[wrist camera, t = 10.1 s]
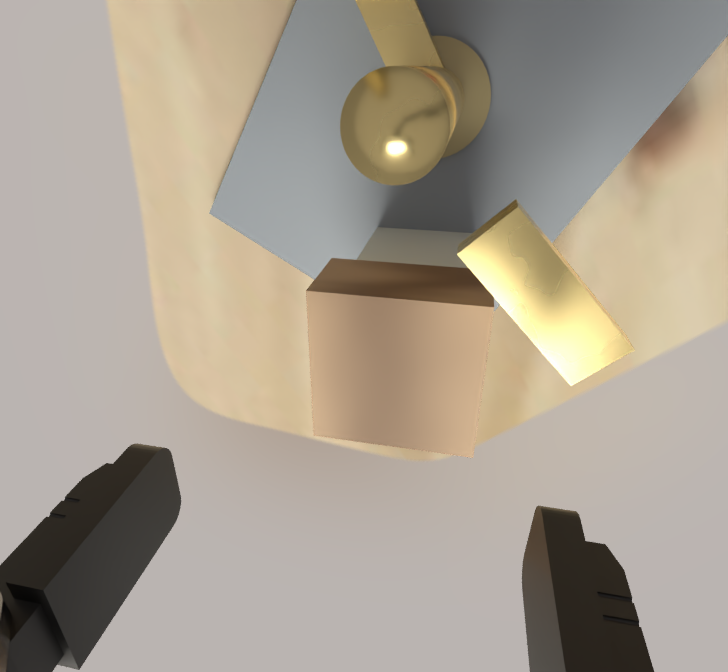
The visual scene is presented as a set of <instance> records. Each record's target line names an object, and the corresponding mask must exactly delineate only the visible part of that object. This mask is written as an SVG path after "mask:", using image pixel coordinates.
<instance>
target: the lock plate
mask: <svg viewBox="0 0 728 672" xmlns="http://www.w3.org/2000/svg"><path fill="white" fill-rule="evenodd" d="M417 2H418V4H419V7H420V9H421V11H422V14H423V16H424V19H425V21H426V23H427V26H428V28H429V30H430V33H431V35H432V37H433V40H434V42H435V45H436V47H437V49H438V52H439V54H440V56H441V59H442V61H443V63H444V66H445V68H446V69H448V70H450V71H451V72H453V73H454V74H455V75H456V76H457V77H458V79H459V80H460V82H461V84H462V87H463V91H464V105H463V109H462V112H461V114H460V117H459V119H458V121H457V124H456V126H455V128H454V131H453V133H452V135H451V138H450V140H449V142H448V144H447V147H446V149H445V151H444V154H443V155H442V157H441V159H440V161H439V162H438V163H437V165H436V166H435V167H434V168H433V169H432V170H431V171H430V172H429V173H428V174H426V175H425V176H424V177H422V178H420V179H419V180H416V181H414V182H412V183H408V184H404V185H385V184H381V183H377V182H375V181H373V180H371V179H369V178H367V177H366V176H364V175H363V174H362V173H360V172H359V171H358V170H357V169H356V168H355V166H354V165H353V164H352V163H351V161H350V160H349V158H348V156H347V154H346V152H345V150H344V147H343V144H342V140H341V134H340V118H341V112H342V108H343V105H344V102H345V100H346V98H347V96H348V94H349V93H350V91H351V89H352V88H353V87H354V86H355V84H356V83H357V82H358V81H359V80H360V79H361V78H363V77H364V76H365V75H367V74H368V73H370V72H372V71H374V70H376V69H379V68H382V67H386V66H385V64H384V62H383V60H382V57H381V55H380V53H379V51H378V49H377V47H376V44H375V42H374V40H373V38H372V36H371V34H370V31H369V29H368V27H367V25H366V23H365V21H364V18H363V16H362V14H361V12H360V10H359V8H358V5H357V3H356V1H355V0H296V3H295V5H294V8H293V10H292V13H291V15H290V18H289V20H288V22H287V25H286V27H285V30H284V32H283V35H282V37H281V39H280V42H279V44H278V47H277V49H276V52H275V54H274V57H273V59H272V61H271V64H270V66H269V69H268V71H267V74H266V76H265V78H264V81H263V83H262V86H261V88H260V91H259V93H258V96H257V98H256V100H255V103H254V105H253V108H252V110H251V113H250V115H249V118H248V120H247V122H246V125H245V127H244V130H243V132H242V135H241V137H240V139H239V142H238V144H237V147H236V149H235V152H234V154H233V157H232V159H231V161H230V164H229V166H228V169H227V171H226V174H225V176H224V178H223V181H222V183H221V186H220V188H219V191H218V193H217V196H216V198H215V200H214V203H213V205H212V208H211V210H210V213H209V214H211V215H213V216H214V217H216V218H217V219H219V220H221V221H222V222H224V223H225V224H227V225H229V226H230V227H232V228H233V229H235V230H236V231H238V232H240V233H241V234H243V235H244V236H246V237H248V238H249V239H251V240H252V241H254V242H256V243H257V244H259V245H260V246H262V247H264V248H265V249H267V250H268V251H270V252H271V253H273V254H275V255H276V256H278V257H279V258H281V259H283V260H284V261H286V262H287V263H289V264H291V265H292V266H294V267H295V268H297V269H299V270H300V271H302V272H303V273H305V274H306V275H308V276H310V277H311V278H313V279H314V280H315V279H316V277H317V276H318V275H319V274H320V272H321V271H322V270H323V268H324V267H325V266H326V265H327V263H328V262H329V261H330V259H331V258H340V259H353V260H366V261H379V262H393V263H406V264H419V265H433V266H446V267H459V268H468V267H467V266H466V264H465V263H464V262H463V261H462V260H461V259H460V257H459V256H458V255H457V250H458V244H460V243H461V242H462V241H463V240H465V239H466V238H467V237H468V236H470V235H471V234H472V233H473V232H475V231H476V230H477V229H478V228H480V227H481V226H482V225H484V224H485V223H486V222H487V221H489V220H490V219H491V218H492V217H494V216H495V215H496V214H497V213H499V212H500V211H501V210H503V209H504V208H505V207H506V206H508V205H509V204H510V203H511V202H513V201H514V200H515V199H517V200H518V202H519V203H520V204H521V205H522V207H523V208H524V209H525V210H526V212H527V213H528V214H529V215H530V217H531V218H532V219H533V220H534V222H535V223H536V224H537V225H538V227H539V228H540V229H541V230H542V231H543V233H544V234H545V235H546V236H547V238H548V239H549V240H550V241H551V243H552V242H553V241H554V240H555V239H556V238H557V237H558V235H559V234H560V233H561V232H562V231H563V229H564V228H565V227H566V226H567V225H568V224H569V222H570V221H571V220H572V219H573V218H574V216H575V215H576V214H577V213H578V212H579V211H580V209H581V208H582V207H583V206H584V205H585V203H586V202H587V201H588V200H589V199H590V198H591V196H592V195H593V194H594V193H595V192H596V190H597V189H598V188H599V187H600V186H601V185H602V183H603V182H604V181H605V180H606V179H607V177H608V176H609V175H610V174H611V173H612V172H613V170H614V169H615V168H616V167H617V166H618V164H619V163H620V162H621V161H622V160H623V159H624V157H625V156H626V155H627V154H628V153H629V151H630V150H631V149H632V148H633V147H634V145H635V144H636V143H637V142H638V141H639V140H640V138H641V137H642V136H643V135H644V134H645V132H646V131H647V130H648V129H649V128H650V127H651V125H652V124H653V123H654V122H655V121H656V119H657V118H658V117H659V116H660V115H661V114H662V112H663V111H664V110H665V109H666V108H667V106H668V105H669V104H670V103H671V102H672V101H673V99H674V98H675V97H676V96H677V95H678V93H679V92H680V91H681V90H682V89H683V88H684V86H685V85H686V84H687V83H688V82H689V80H690V79H691V78H692V77H693V76H694V75H695V73H696V72H697V71H698V70H699V69H700V67H701V66H702V65H703V64H704V63H705V62H706V60H707V59H708V58H709V57H710V56H711V54H712V53H713V52H714V51H715V50H716V49H717V47H718V46H719V45H720V44H721V43H722V41H723V40H724V39H725V38H726V37H727V36H728V0H417ZM499 305H500V304H499V302H498V301H497V300H496V299H495V298H494V311H495V310H496V309H497V308H498V306H499Z"/></svg>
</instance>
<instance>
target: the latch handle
mask: <svg viewBox="0 0 728 672" xmlns="http://www.w3.org/2000/svg"><path fill="white" fill-rule="evenodd" d="M355 1H356V3H357V5H358V8H359V10H360V12H361V14H362V16H363V18H364V21H365V23H366V25H367V27H368V29H369V31H370V34H371V36H372V38H373V40H374V42H375V44H376V47H377V49H378V51H379V53H380V55H381V57H382V60H383V62H384V64H385V66H386V67H382V68H379V69H376V70H374V71H372V72H370V73H368V74H367V75H365V76H364V77H363V78H361V79H360V80H359V81H358V82H357V83H356V84H355V86H354V87H353V88H352V89H351V91H350V93H349V94H348V96H347V98H346V100H345V102H344V105H343V108H342V112H341V118H340V134H341V140H342V144H343V147H344V150H345V152H346V154H347V156H348V158H349V160H350V161H351V163H352V164H353V165H354V166H355V168H356V169H357V170H358V171H359V172H360V173H362V174H363V175H364V176H366V177H367V178H369V179H371V180H373V181H375V182H377V183H381V184H385V185H404V184H408V183H412V182H414V181H416V180H419V179H420V178H422V177H424V176H425V175H426V174H428V173H429V172H430V171H431V170H432V169H433V168H434V167H435V166H436V165H437V163H438V162H439V161H440V159H441V157H442V155H443V154H444V151H445V149H446V147H447V144H448V142H449V140H450V138H451V135H452V133H453V131H454V128H455V126H456V124H457V121H458V119H459V117H460V114H461V112H462V109H463V105H464V91H463V87H462V84H461V82H460V80H459V79H458V77H457V76H456V75H455V74H454V73H453V72H451V71H450V70H448V69H446V68H445V66H444V63H443V61H442V59H441V56H440V54H439V52H438V49H437V47H436V45H435V42H434V40H433V37H432V35H431V33H430V30H429V28H428V26H427V23H426V21H425V19H424V16H423V14H422V11H421V9H420V7H419V4H418V2H417V0H355ZM457 255H458V256H459V257H460V259H461V260H462V261H463V262H464V263H465V264H466V266H467V267H468V268H469V269H470V270H471V271H472V272H473V274H474V275H475V276H476V277H477V278H478V279H479V280H480V282H481V283H482V284H483V285H484V286H485V287H486V289H487V290H488V291H489V292H490V293H491V294H492V295H493V297H494V298H495V299H496V300H497V301H498V302H499V304H500V305H501V306H502V307H503V308H504V309H505V310H506V312H507V313H508V314H509V315H510V316H511V317H512V318H513V320H514V321H515V322H516V323H517V324H518V325H519V327H520V328H521V329H522V330H523V331H524V332H525V333H526V335H527V336H528V337H529V338H530V339H531V340H532V342H533V343H534V344H535V345H536V346H537V347H538V348H539V350H540V351H541V352H542V353H543V354H544V355H545V356H546V358H547V359H548V360H549V361H550V362H551V363H552V365H553V366H554V367H555V368H556V369H557V370H558V371H559V373H560V374H561V375H562V376H563V377H564V378H565V380H566V381H567V382H568V383H569V384H570V385H571V386H572V385H573V384H575V383H577V382H579V381H581V380H582V379H584V378H586V377H588V376H589V375H591V374H593V373H595V372H597V371H598V370H600V369H602V368H604V367H606V366H607V365H609V364H611V363H613V362H615V361H616V360H618V359H620V358H622V357H624V356H625V355H627V354H629V353H631V352H633V351H634V348H633V347H632V345H631V343H630V341H629V339H628V337H627V336H626V334H625V333H624V332H623V331H622V329H621V328H620V327H619V326H618V324H617V323H616V322H615V321H614V319H613V318H612V317H611V316H610V314H609V313H608V312H607V311H606V309H605V308H604V307H603V306H602V305H601V303H600V302H599V301H598V300H597V298H596V297H595V296H594V295H593V293H592V292H591V291H590V290H589V288H588V287H587V286H586V285H585V283H584V282H583V281H582V280H581V279H580V277H579V276H578V275H577V274H576V272H575V271H574V270H573V269H572V267H571V266H570V265H569V264H568V262H567V261H566V260H565V259H564V257H563V256H562V255H561V254H560V253H559V251H558V250H557V249H556V248H555V246H554V245H553V244H552V243H551V241H550V240H549V239H548V238H547V236H546V235H545V234H544V233H543V231H542V230H541V229H540V228H539V227H538V225H537V224H536V223H535V222H534V220H533V219H532V218H531V217H530V215H529V214H528V213H527V212H526V210H525V209H524V208H523V207H522V205H521V204H520V203H519V202H518V200H517V199H515V200H514V201H513V202H511V203H510V204H509V205H508V206H506V207H505V208H504V209H503V210H501V211H500V212H499V213H497V214H496V215H495V216H494V217H492V218H491V219H490V220H489V221H487V222H486V223H485V224H484V225H482V226H481V227H480V228H478V229H477V230H476V231H475V232H473V233H472V234H471V235H470V236H468V237H467V238H466V239H465V240H463V241H462V242H461V243H460V244H458V250H457Z"/></svg>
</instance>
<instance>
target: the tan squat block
mask: <svg viewBox="0 0 728 672" xmlns="http://www.w3.org/2000/svg"><path fill="white" fill-rule="evenodd" d="M306 299H307V318H308V337H309V356H310V375H311V394H312V413H313V432H314V436H321V437H328V438H335V439H342V440H350V441H357V442H364V443H371V444H378V445H385V446H392V447H400V448H407V449H414V450H421V451H428V452H435V453H442V454H450V455H457V456H465V457H471V458H473V454H474V448H475V440H476V433H477V426H478V419H479V412H480V405H481V398H482V391H483V384H484V377H485V370H486V363H487V355H488V348H489V341H490V334H491V327H492V320H493V313H494V297H493V295H492V294H491V293H490V292H489V291H488V290H487V289H486V287H485V286H484V285H483V284H482V283H481V282H480V280H479V279H478V278H477V277H476V276H475V275H474V274H473V272H472V271H471V270H470V269H469V268H459V267H446V266H433V265H419V264H406V263H393V262H379V261H366V260H353V259H340V258H331V259H330V261H329V262H328V263H327V265H326V266H325V267H324V268H323V270H322V271H321V272H320V274H319V275H318V276H317V277H316V279H315V280H314V281H313V283H312V284H311V285H310V286H309V288H308V289H307V290H306Z"/></svg>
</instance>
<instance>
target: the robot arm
mask: <svg viewBox="0 0 728 672" xmlns="http://www.w3.org/2000/svg"><path fill="white" fill-rule="evenodd" d="M180 505H181V495H180V491H179V486H178V481H177V477H176V472H175V467H174V463H173V459H172V455H171V452H170V451H169V449H167V448H162V447H156V446H149V445H142V444H133V445H131V446H130V447H128V448H127V449H126V450H125V451H124V452H123V454H122V455H121V456H120V457H119V458H118V459H117V460H116V461H115V462H114V464H108V463H106V464H105V465H103V466H101V467H100V468H99V469H97V470H95V471H94V472H92V473H90V474H89V475H87V476H86V477H84V478H83V479H82V480H81V481H80V482H79V483H78V484H77V485H76V486H75V487H74V488H73V489H72V490H71V491H70V493H69V494H67V496H66V497H65V500H64V501H61V502H60V503H59V504H58V505H57V506H56V507H55V508H54V509H53V510H52V511H51V513H50V516H49V517H46V518H45V519H44V520H43V521H42V522H41V523H40V524H39V525H38V526H37V527H36V528H35V529H34V530H33V531H32V532H31V533H30V534H29V536H28V537H27V538H26V539H25V540H24V541H23V542H22V543H21V544H20V545H19V546H18V547H17V548H16V549H15V550H14V551H13V552H12V553H11V554H10V556H9V557H8V558H7V559H6V560H5V561H4V562H3V563H2V564H1V565H0V672H52V671H53V670H54V668H55V667H56V665H61V666H66V667H70V668H74V669H78V670H79V669H80V668H81V666H82V665H83V663H84V662H85V660H86V658H87V657H88V655H89V654H90V652H91V651H92V649H93V648H94V646H95V645H96V643H97V642H98V640H99V639H100V637H101V636H102V634H103V633H104V631H105V630H106V628H107V626H108V625H109V623H110V622H111V620H112V619H113V617H114V616H115V614H116V613H117V611H118V610H119V608H120V606H121V605H122V604H123V602H124V601H125V599H126V597H127V596H128V594H129V593H130V591H131V590H132V588H133V587H134V585H135V584H136V582H137V581H138V579H139V578H140V576H141V575H142V573H143V572H144V570H145V568H146V567H147V565H148V564H149V562H150V561H151V559H152V558H153V556H154V555H155V553H156V552H157V550H158V549H159V547H160V545H161V544H162V543H163V541H164V539H165V538H166V536H167V535H168V533H169V532H170V530H171V529H172V527H173V525H174V524H175V522H176V520H177V517H178V515H179V511H180ZM522 589H523V601H524V611H525V623H526V634H527V645H528V656H529V666H530V672H654V670H653V667H652V663H651V660H650V656H649V653H648V649H647V646H646V643H645V639H644V636H643V633H642V629H641V627H639V619H638V616H637V612H636V609H635V606H634V603H632V596H631V592H630V589H629V585H628V582H627V579H626V575H625V572H624V569H623V568H622V567H621V565H620V564H619V562H618V561H617V560H616V558H615V557H614V556H613V554H612V553H611V551H610V550H609V549H608V547H607V546H606V545H605V544H600V543H593V542H587V541H585V537H584V533H583V529H582V524H581V520H580V517H579V514H578V513H577V512H576V511H570V510H563V509H556V508H550V507H543V506H537V507H536V510H535V513H534V517H533V521H532V525H531V529H530V533H529V538H528V541H527V545H526V549H525V554H524V559H523V569H522Z"/></svg>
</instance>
